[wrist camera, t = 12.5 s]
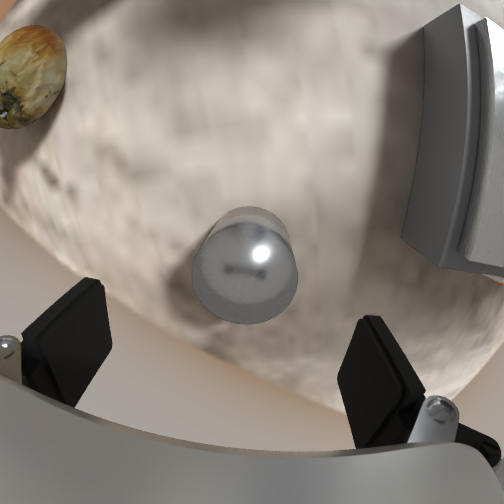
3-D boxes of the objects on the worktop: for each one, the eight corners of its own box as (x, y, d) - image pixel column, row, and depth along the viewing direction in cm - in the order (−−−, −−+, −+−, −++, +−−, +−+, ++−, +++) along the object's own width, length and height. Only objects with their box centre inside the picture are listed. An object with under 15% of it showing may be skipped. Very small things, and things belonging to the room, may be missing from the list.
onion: (101, 73, 14) (23, 47, 7) (37, 151, 16) (-40, 164, 8) (66, 23, 12) (1, -4, 5) (9, 95, 14) (-57, 94, 7)
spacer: (295, 212, 17) (307, 236, 12) (282, 285, 19) (287, 329, 14) (213, 201, 17) (194, 221, 12) (207, 276, 19) (190, 316, 14)
